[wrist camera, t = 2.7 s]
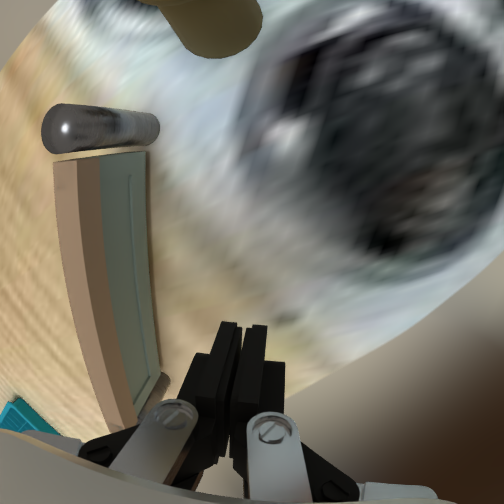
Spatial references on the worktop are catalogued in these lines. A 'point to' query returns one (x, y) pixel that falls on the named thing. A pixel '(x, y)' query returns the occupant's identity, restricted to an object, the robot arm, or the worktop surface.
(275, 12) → the worktop surface
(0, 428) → the robot arm
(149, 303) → the gate
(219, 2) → the cork
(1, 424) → the ice cube tray
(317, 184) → the worktop surface
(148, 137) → the gate posts
